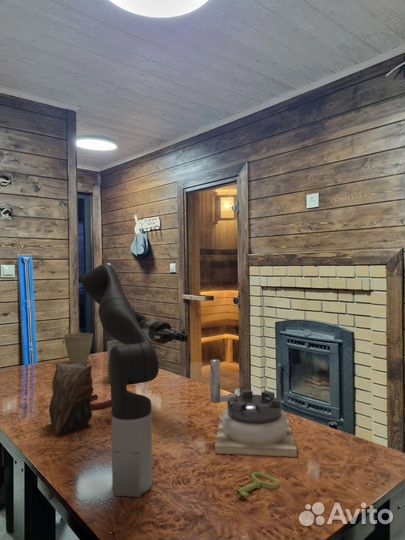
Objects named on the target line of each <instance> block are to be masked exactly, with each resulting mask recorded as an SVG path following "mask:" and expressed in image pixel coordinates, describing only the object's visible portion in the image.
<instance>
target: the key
mask: <svg viewBox="0 0 405 540" xmlns="http://www.w3.org/2000/svg"><path fill="white" fill-rule="evenodd" d="M258 477H260V478H263V479H267V480H270V481H271V482H273V483H270V482H265V481H263V480H261V479H259V478H258ZM250 480H251V481H252V483H249V484H247V485H245V486H243V487H241V488H237V489H236V490H235V493H236V496H238V497H239V496H242V497H244V498H246V497H248V496H250V495H249V492H250V491H252V490H254V489H255V490H256V489H260V488H263V489H267V490H276V489H278V488H280V482H279V480H278V479H276V478H275V477H273V476H271V475H269V474H266V473H263V472H259V471H255V472H252V474H251V479H250Z"/></svg>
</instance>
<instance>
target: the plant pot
mask: <svg viewBox="0 0 405 540" xmlns="http://www.w3.org/2000/svg"><path fill="white" fill-rule="evenodd" d="M93 336H94V334H93V333H90V332H75V333H74V332H73V333H68V334H65V335H64V336H63V338H64V343H65V350H66V353H67V357H68V359H69V362H70V364H78V363H83V364H84V365H87V362H88V360H89V357H90V352H91V349H92V344H93V339H94V338H93Z"/></svg>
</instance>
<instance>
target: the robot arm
mask: <svg viewBox="0 0 405 540" xmlns="http://www.w3.org/2000/svg"><path fill="white" fill-rule="evenodd" d="M80 283H81V285H82V288H83V289H84V291H85V293H86V294H87V296H89V297H90V299H92V300H93V301H94V302H95V303H97V305H99V306H98V310H97V311H98V317H99V321H100V323H101V326H102V328H103V330H104V331H105V332H106V333H107V334H108V335H109V336H110V337H111V338H113V340H118V341H120V342H121V343H123V344H125V345H117V346H114V347H113V348H112V349H111V351H110V356H109V369H110V400H111V476H112V477H111V479H112V480H111V481H112V483H111V484H112V485H111V487H112V491H113V496H114V497H115V496H116V497H131V498H132V497H133V498H140V497H141V496H142V495H143V494H145V493H147V492H148V491H149V490H150V489H151V488H152V486H153V456H152V455H153V454H152V453H153V446H152V445H153V444H152V443H153V441H152V438H153V437H152V430H153V429H152V401H151V398H149V397H147V396H146V395H143V394H140V393H135V392H131V391H129V390H128V389H127V388H128V387H127V386H130V385H137V384H144V383H148V382H152V381H154V380H155V379H156V378H157V376H158V374H159V371H160V370H159V369H160V364H159V359H158V355H157V353H156V349H155V348H154V346H153V344H152V342H153V343H157V344H159V345H166V344H168V343H172V342H182V343H186V342H189V335H188V334H187V329H186V328H183V329H180V330H179V329H176V328H175V327H172V326H171V324H170V323H169V322H166V321H161V320H154V319H153V320H151V319H147V318H146V316H145V315H143V314H141V313H139V312H137V311H135V310H134V308H133V307H132V305H131V303H130V302H129V300H128V297H127V295H126V294H125V292H124V290H123V286H122V283H121V280H120V278H119V275H118V273H117V271H116V270H115V268H114V267H113V266H112V265H110V264H109V263H103V264H100V265H97V266H96V267H95V268H93V269H91V270H89V271H88V272H86V273H84V274H83V275H82V276H81V277H80Z"/></svg>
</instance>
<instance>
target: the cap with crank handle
mask: <svg viewBox="0 0 405 540" xmlns="http://www.w3.org/2000/svg"><path fill="white" fill-rule="evenodd" d="M209 363H210V364H209V365H210V369H209V371H210V372H209V373H210V402H211V403H212V404H217V403H224V402H225V403H227V408H228V415H229V416H230V417H231V418H232V419H234V420H237V421H240V422H245V423H254V424H260V423H269V422H273V421H276V420H278V419H279V418H280V417H281V415H282V412H281V410H282V404H283V400H282V399H283V398H282V397H275V392H272V391H268V390H264V391H261V394H253V390H251V389H250V388H249V389H240V391H239V392H240V393H239V394H240V395H237V393H236V394H235V393H228V394H224V395H223V394H222V395H221V360H220V359H217V358H213V359H210V361H209Z"/></svg>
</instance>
